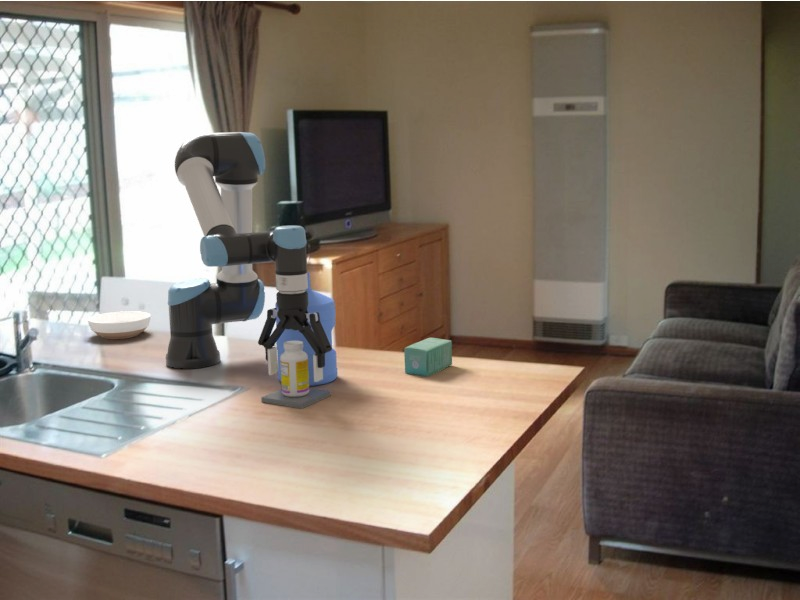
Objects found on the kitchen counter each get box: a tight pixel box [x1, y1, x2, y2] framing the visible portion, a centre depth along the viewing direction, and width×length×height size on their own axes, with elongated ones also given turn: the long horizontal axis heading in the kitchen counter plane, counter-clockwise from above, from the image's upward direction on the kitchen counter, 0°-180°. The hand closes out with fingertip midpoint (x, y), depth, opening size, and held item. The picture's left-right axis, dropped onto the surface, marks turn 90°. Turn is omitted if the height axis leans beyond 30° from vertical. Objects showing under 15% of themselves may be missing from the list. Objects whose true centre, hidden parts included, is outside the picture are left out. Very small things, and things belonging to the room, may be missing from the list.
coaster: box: [261, 387, 332, 409], centre depth 221 cm, size 12×12×1 cm
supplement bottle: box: [280, 341, 310, 397], centre depth 219 cm, size 7×7×13 cm
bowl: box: [88, 310, 151, 340], centre depth 295 cm, size 20×20×6 cm
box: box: [403, 337, 453, 377], centre depth 245 cm, size 7×14×8 cm, turn 147°
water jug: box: [274, 272, 338, 387], centre depth 236 cm, size 16×16×28 cm
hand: (295, 377), depth 220 cm, fingers open, 13 cm apart
